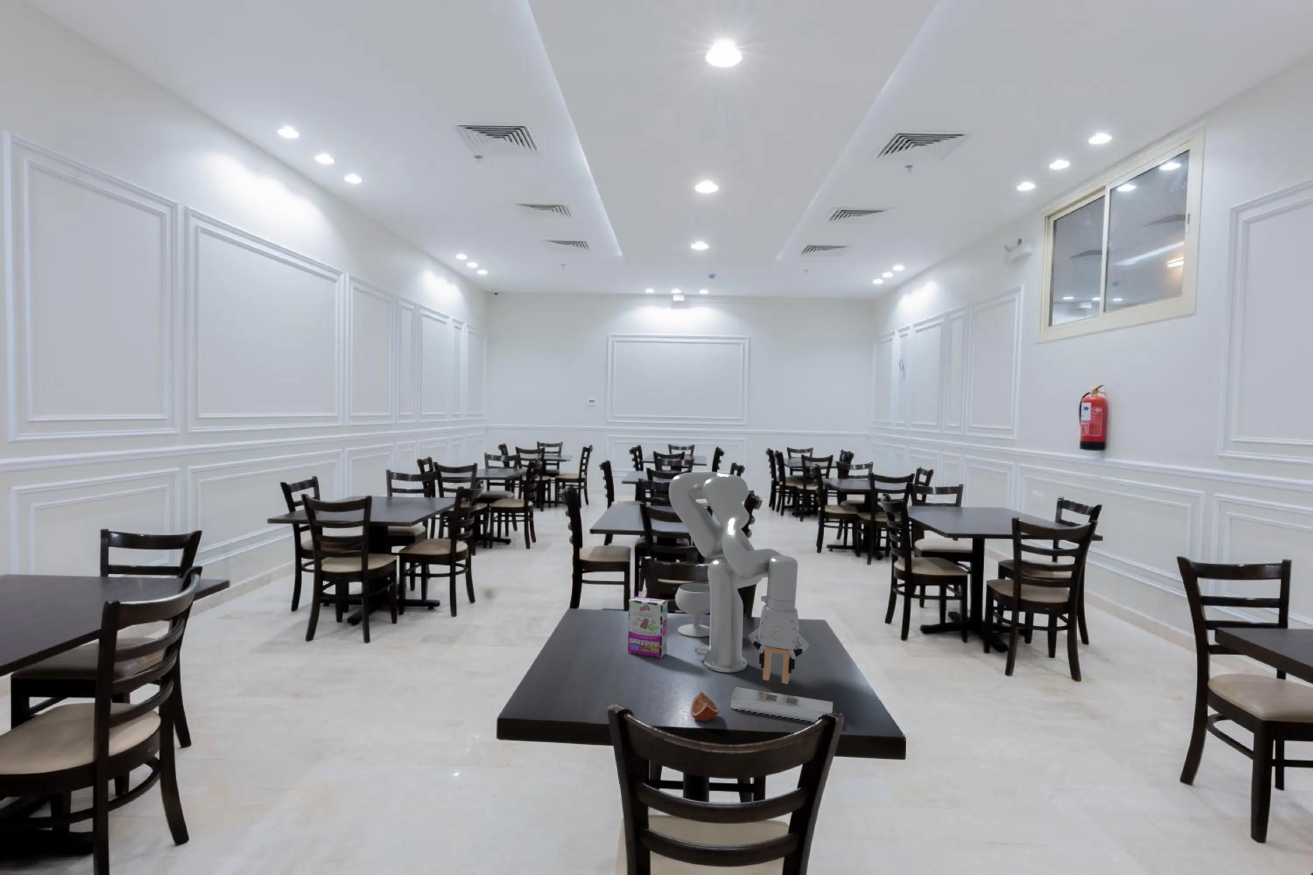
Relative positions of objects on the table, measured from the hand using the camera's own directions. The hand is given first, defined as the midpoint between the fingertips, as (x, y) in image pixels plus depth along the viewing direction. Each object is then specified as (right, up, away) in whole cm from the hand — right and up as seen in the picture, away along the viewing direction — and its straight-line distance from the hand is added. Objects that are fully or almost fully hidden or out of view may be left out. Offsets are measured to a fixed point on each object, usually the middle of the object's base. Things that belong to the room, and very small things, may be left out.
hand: (776, 668), depth 166 cm
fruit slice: (-20, -6, -17) cm, 27 cm away
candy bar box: (-35, -4, +23) cm, 42 cm away
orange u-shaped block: (0, -3, 0) cm, 3 cm away
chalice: (-19, -4, +43) cm, 47 cm away
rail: (-1, -6, -13) cm, 14 cm away
